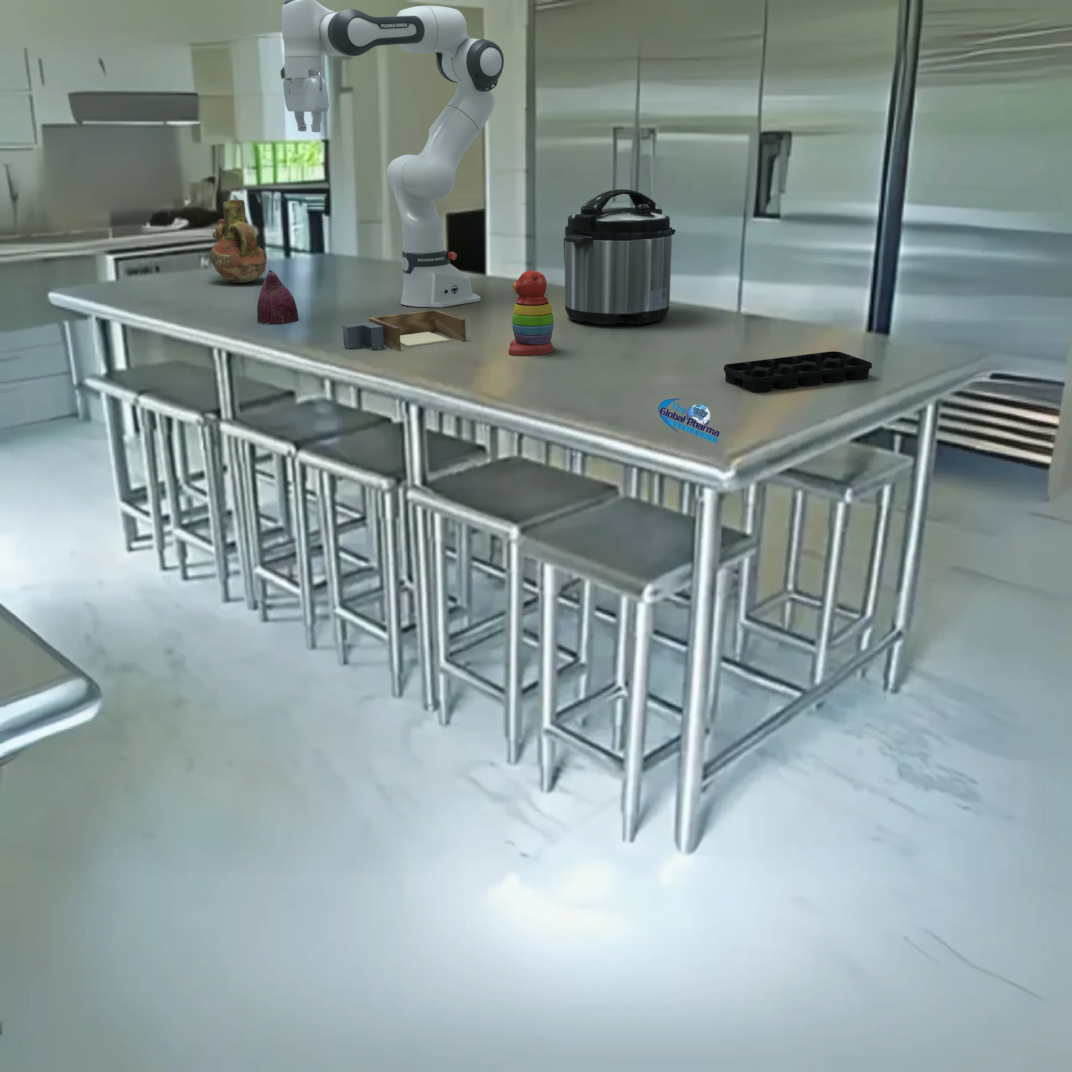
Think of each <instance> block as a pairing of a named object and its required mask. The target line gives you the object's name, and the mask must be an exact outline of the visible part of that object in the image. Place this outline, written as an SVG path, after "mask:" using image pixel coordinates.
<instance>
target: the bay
mask: <svg viewBox="0 0 1072 1072" xmlns="http://www.w3.org/2000/svg"><path fill="white" fill-rule="evenodd" d="M367 320H368V321H367V322H372V323H375V324H377V325H380V326H383V335H384V346H386V347H388V346H389V347H388V348H390V347H391V348H390V349H393V348H394V349H393V350H395V349H396V351H401V350H402V347H401V346H402V345H401V343H400V335H408V334H415V333H423V332H431V333H433V332H437V333H438V334H442V335H444V336H448V337H450V338H451V339H452V338H453V339H456V340H458V341H462V342H465V341H467V336H466V333H467V332H466V319H465V318H462V317H459V316H456V315H454V314H453V315H452V314H450V313H447V312H444V311H441V310H439V309H438V310H437V309H431V310H422V311H421V310H420V311H415V312H413V311H412V312H406V313H398V314H390V315H381V316H375V317H374V316H372V317H368V319H367Z"/></svg>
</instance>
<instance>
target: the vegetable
mask: <svg viewBox="0 0 1072 1072" xmlns="http://www.w3.org/2000/svg"><path fill="white" fill-rule="evenodd" d="M260 288H261V289H260V291H259V295H258V299H257V309H256V310H257V311H256V313H257V316H256V319H257V320H256V321H257V323H259V322H261V323H260V324H264V323H269V324H268V325H282V324H281V323H285V324H290V323H293V322H297V321H299V311H298V307H297V303H296V300H295V297H294V296H293V294H292V293H291V292H290V291H289V289H288V287H286V285H285V284H284V283H283V282H282V281H281V279H280V278H279V276H278V275H277V274H276V273H275V272H274V271H273V270H271V269H268V272H267V273H266V276H265V280H264V282H263V283H262V286H261V287H260Z"/></svg>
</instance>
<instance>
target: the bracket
mask: <svg viewBox="0 0 1072 1072" xmlns="http://www.w3.org/2000/svg"><path fill="white" fill-rule="evenodd" d="M341 329H342V338H343V347H344V346H345V347H344V348H346V349H348V348H354V349H357V348H356V347H361V348H364V347H363V346H366V347H365V348H367V347H368V348H367V349H369V348H371V349H376V350H379V349H378V348H383V349H385V345H384V335H383V326H380V325H377V324H375V323H372V322H368V321H366V322H358V323H349V324H342V328H341ZM371 349H370V350H371Z"/></svg>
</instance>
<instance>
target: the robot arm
mask: <svg viewBox="0 0 1072 1072" xmlns="http://www.w3.org/2000/svg"><path fill="white" fill-rule="evenodd" d="M281 34H282V35H281V36H282V40H283V43H284V56H283V57H284V63H283V66H282V67H281V69H280V71H279V74H280V75H279V76H280V79H281V80H283V81H282V88H283V96H284V103H285V107H286V110H287V111H288V112H293V114H294V115H293V116H294V120H295V123H296V125H297V131H298V132H306V131H307V129H308V128H307V123H306V121H305V113H306V112H307V113H308V112H310V113H311V114H310V115H311V118H312V121H311V124H310V127H311V132H312V133H320V132H321V131H322V130H321V125H322V124H321V123H322V117H323V114H322V113H324V112H325V113H326V112H328V111H329V107H330V106H329V105H330V104H329V96H328V95H329V94H328V88H327V83H326V80H325V78H324V72H323V71H324V70H323V59H322V55H325V56H328V57H344V56H348V57H349V56H351V57H357V56H362V55H363V54H365V53H367V52H368V51H370V50H371V49H374V47H378V46H379V47H381V46H394V45H397V46H399V48H400V49H402V50H403V51H404V52H407V53H411V54H412V53H413V54H435V56H436V57H435V59H436V60H435V61H436V66H437V69H438V72H439V73H440V75H441V76H442V77H443V79H445V80H447V81H449V82H452V83H457V87H456V90H455V93H454V96H453V97H452V98H451V100H450V101H448V103H447V104H446V106H445V107H444V109H442V111H441V112H440V114H439V115H438V116H437V118H436V119H435V120H434V122H433V123H432V125H431V126H430V127H429V128H428V138H427V141H426V144H425V145H424V147H423V149H422V151H420V152H419V154H404V155H401V156H397V157H396V158H394V159H393V160H391V161H390V163H389V164H388V166H387V169H386V180H387V183H388V186H389V187H390V189H391V190H392V191H393V194H394V197H395V202H396V206H397V208H398V212H399V216H400V222H401V232H402V233H401V234H402V245H403V246H402V248H403V251H402V253H401V257H402V259H401V261H402V262H401V263H402V272H403V287H402V293H401V299H400V304H401V305H404V306H408V307H418V308H420V307H421V308H422V307H423V308H426V307H427V308H428V307H429V308H446V307H451V306H457V305H462V304H463V305H464V304H470V303H475V302H476V303H477V302H480V301H481V296H480V295H478V294H477V293H474V292H473V288H472V283H471V280H470V278H469V276H468V275H466V274H465V273H463V272H462V271H461V270H459V269H458V268H457V267H455V266H454V265H453V264H451V260H453V261H455V260H456V259H457V257H458V255H457V253H456V252H454V251H449V252H448V251H447V250H445V247H444V226H443V220H442V218H441V216H440V214H439V212H438V211H437V207H436V204H435V200H439V199H441V198H445V197H447V196H448V195H449V194H450V193H451V192H452V191H453V189H454V188H455V185H456V183H455V182H456V172H457V169H458V167H459V165H460V162H461V160H462V158H463V156H464V155H465V153H466V152H467V150H469V148H470V146H471V145H472V144H473V142H474V141H475V140H476V138H477V136H478V135H479V134H480V133H481V131H482V130H483V128H484V126H485V125H486V124H487V121H488V120H489V117H490V116H491V114H492V112H493V109H494V107H495V102H496V101H495V97H494V95H493V93H492V90H494V89H495V88H496V87H497V86H498V83H499V78H500V77H501V75H502V73H503V70H504V66H505V57H504V53H503V50H502V49H501V47H499V45H498V44H497V43H496V42H493V41H491V40H489V39H484V38H481V39H480V38H474V37H473V38H472V37H470V35H469V34H468V25H467V22H466V18H465V16H464V15H463V14H462V12H461V11H460V10H459V9H456V8H453V7H448V6H442V5H418V6H417V5H416V6H411V7H407V8H404V9H401V10H399V12H398V13H397V15H396V16H395V15H393V16H371V15H369V14H367V13H365V12H363V11H361V10H358V9H355V8H349V9H348V8H347V9H344V10H341V11H334V10H331V9H329V8H327V7H325V6H324V5H322V4H320V2H318V1H317V0H285V1H284V2H283V3H282V6H281Z"/></svg>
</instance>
